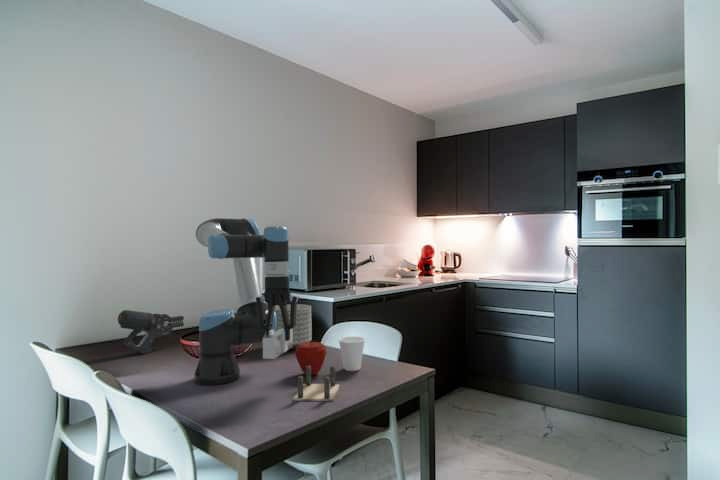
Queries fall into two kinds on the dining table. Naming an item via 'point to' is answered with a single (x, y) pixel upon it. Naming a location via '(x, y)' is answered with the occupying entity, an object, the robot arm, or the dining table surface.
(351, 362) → the cup
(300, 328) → the planter
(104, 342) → the dining table surface
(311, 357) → the apple
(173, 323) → the gun
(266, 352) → the grey stepped post
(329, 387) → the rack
